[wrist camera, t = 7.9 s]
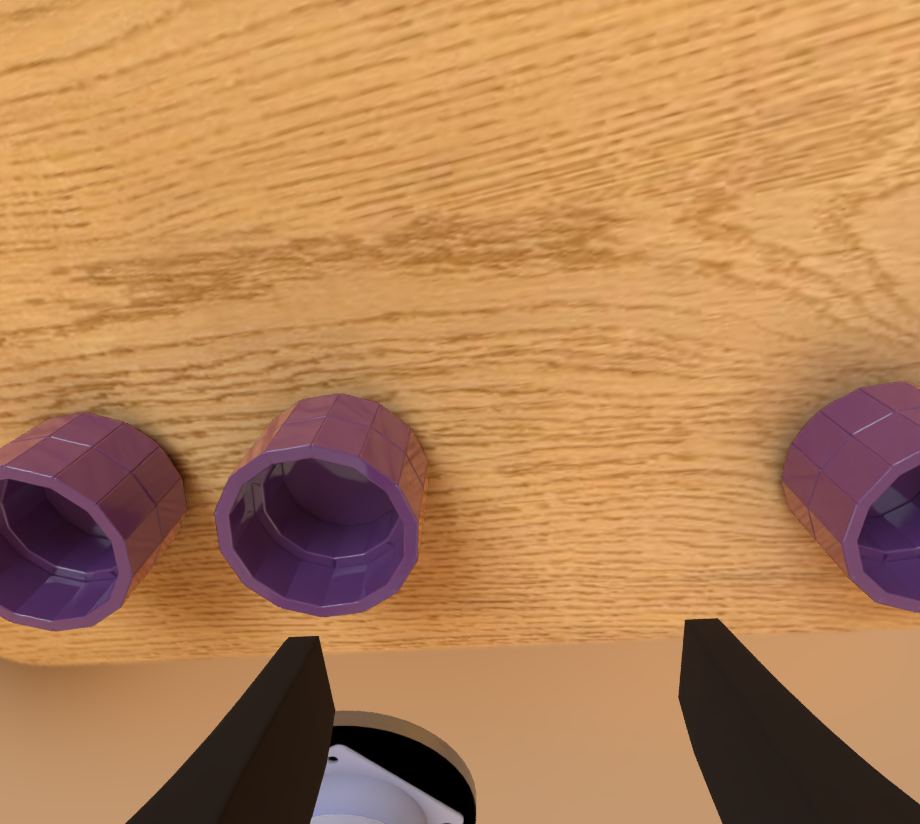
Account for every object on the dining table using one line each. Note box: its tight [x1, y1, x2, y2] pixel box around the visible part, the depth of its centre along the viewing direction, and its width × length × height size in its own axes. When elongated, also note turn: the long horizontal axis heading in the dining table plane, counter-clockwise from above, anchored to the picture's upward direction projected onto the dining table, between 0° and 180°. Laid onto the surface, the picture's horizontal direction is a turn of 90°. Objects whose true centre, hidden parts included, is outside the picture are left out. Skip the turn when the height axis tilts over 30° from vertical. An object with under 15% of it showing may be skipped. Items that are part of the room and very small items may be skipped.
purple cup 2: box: [781, 381, 920, 613], centre depth 17 cm, size 5×6×4 cm
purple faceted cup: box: [0, 413, 187, 631], centre depth 18 cm, size 5×6×4 cm
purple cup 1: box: [214, 393, 428, 617], centre depth 18 cm, size 5×6×4 cm
